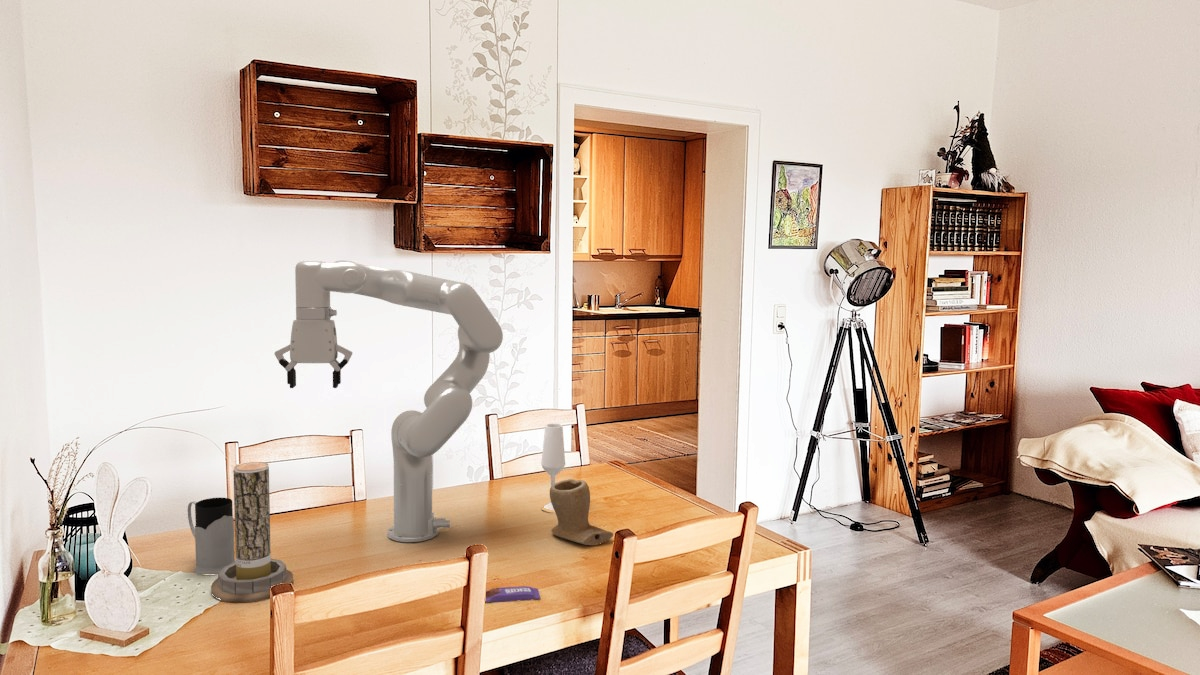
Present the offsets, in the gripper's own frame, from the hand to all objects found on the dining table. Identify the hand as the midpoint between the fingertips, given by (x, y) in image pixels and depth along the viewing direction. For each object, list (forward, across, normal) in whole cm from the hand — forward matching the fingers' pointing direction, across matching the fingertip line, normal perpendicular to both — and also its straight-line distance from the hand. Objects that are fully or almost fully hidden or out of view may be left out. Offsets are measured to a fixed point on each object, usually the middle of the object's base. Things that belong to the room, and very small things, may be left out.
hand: (314, 387), depth 189 cm
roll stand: (+39, +9, +21) cm, 45 cm away
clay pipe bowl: (+40, -63, -1) cm, 74 cm away
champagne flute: (+40, -59, -25) cm, 75 cm away
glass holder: (+40, +22, +8) cm, 46 cm away
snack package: (+40, -46, +31) cm, 68 cm away
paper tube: (+38, +9, +21) cm, 44 cm away
